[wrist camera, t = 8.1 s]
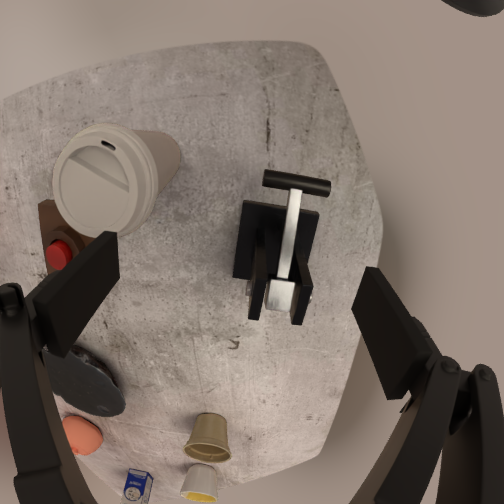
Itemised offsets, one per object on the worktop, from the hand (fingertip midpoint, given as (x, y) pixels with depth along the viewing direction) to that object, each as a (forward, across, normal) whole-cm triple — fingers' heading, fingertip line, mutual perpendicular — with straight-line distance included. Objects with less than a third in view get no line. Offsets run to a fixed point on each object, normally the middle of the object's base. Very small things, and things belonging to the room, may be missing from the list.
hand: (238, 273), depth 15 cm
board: (+22, -28, -40) cm, 53 cm away
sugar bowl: (+22, -36, -68) cm, 80 cm away
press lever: (+13, +4, -3) cm, 14 cm away
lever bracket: (+21, +4, -7) cm, 23 cm away
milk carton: (+22, -24, -97) cm, 102 cm away
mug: (+22, -2, -79) cm, 82 cm away
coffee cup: (+21, -12, +2) cm, 24 cm away
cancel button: (+18, -24, -11) cm, 32 cm away
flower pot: (+22, -1, -48) cm, 53 cm away
